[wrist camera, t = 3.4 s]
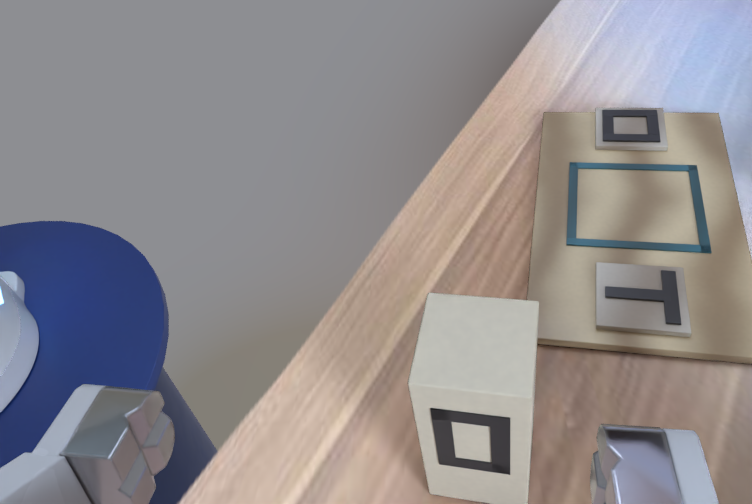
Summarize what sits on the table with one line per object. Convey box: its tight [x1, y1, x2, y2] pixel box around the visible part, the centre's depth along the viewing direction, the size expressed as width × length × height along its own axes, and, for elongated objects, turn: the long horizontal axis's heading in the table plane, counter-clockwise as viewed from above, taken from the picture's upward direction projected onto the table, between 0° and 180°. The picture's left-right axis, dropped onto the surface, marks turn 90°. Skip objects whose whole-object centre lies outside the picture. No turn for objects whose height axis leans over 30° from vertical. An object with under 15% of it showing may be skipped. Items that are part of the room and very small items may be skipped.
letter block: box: [408, 293, 539, 504], centre depth 30 cm, size 5×5×10 cm
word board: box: [527, 108, 752, 364], centre depth 44 cm, size 13×23×1 cm, turn 167°
